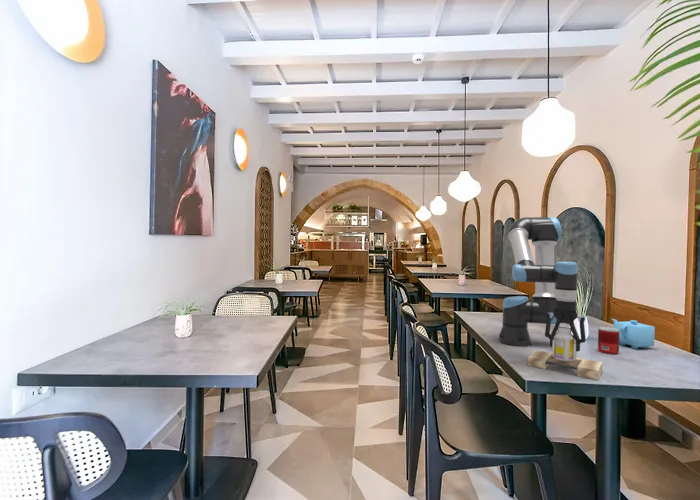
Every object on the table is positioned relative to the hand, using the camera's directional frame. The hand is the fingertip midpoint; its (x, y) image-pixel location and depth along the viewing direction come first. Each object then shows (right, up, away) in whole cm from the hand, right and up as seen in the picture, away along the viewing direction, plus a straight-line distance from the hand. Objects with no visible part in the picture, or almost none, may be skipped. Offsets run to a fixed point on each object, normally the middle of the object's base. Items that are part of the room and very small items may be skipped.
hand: (564, 357), depth 146 cm
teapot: (+54, -5, +38) cm, 66 cm away
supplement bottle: (0, -1, 0) cm, 1 cm away
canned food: (+35, -5, +24) cm, 43 cm away
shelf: (0, -5, +1) cm, 5 cm away
